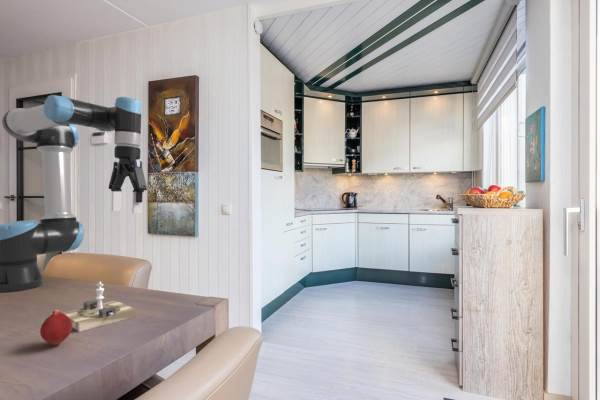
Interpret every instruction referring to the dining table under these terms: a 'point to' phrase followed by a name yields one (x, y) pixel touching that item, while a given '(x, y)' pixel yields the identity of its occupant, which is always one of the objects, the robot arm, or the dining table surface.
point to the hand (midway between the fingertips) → (126, 212)
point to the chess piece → (99, 298)
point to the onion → (56, 328)
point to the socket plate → (87, 320)
